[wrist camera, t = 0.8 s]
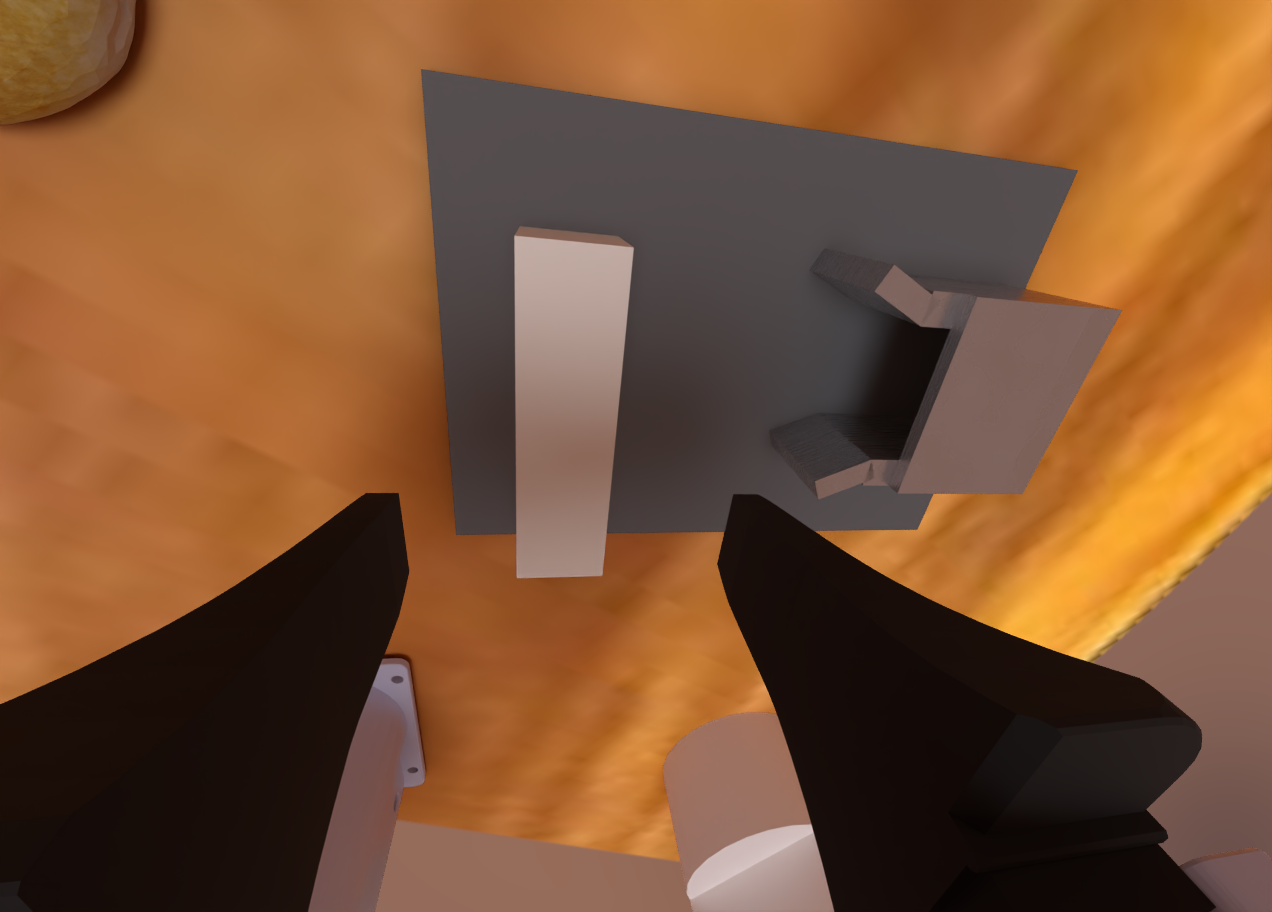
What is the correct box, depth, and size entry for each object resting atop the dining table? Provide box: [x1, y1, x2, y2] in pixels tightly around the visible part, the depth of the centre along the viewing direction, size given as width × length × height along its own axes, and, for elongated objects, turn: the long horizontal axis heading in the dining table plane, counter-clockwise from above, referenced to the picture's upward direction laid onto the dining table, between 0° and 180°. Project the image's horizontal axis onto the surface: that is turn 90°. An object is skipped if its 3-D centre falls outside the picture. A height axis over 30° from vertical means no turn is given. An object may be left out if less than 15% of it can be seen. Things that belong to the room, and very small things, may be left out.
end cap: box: [769, 248, 1122, 499], centre depth 17 cm, size 8×8×4 cm
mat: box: [421, 69, 1078, 535], centre depth 19 cm, size 15×21×1 cm
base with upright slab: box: [663, 712, 834, 912], centre depth 26 cm, size 9×9×12 cm
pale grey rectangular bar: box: [514, 226, 634, 578], centre depth 17 cm, size 11×3×3 cm, turn 174°
